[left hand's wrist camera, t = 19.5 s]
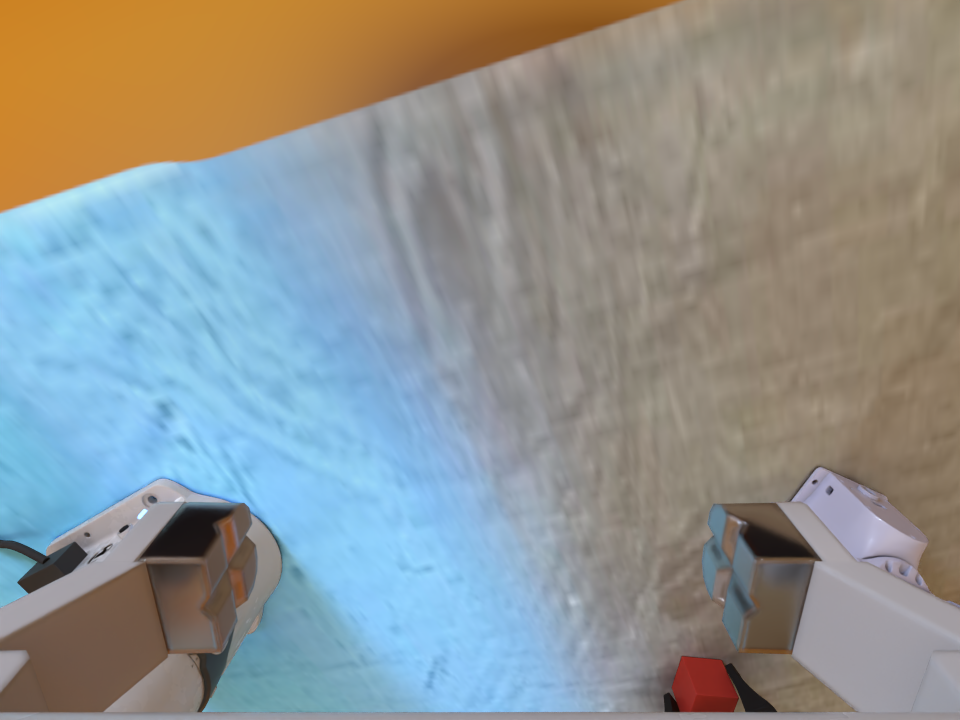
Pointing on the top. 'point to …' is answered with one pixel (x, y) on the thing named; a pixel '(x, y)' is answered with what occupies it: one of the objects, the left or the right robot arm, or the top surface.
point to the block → (703, 686)
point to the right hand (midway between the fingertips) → (701, 684)
